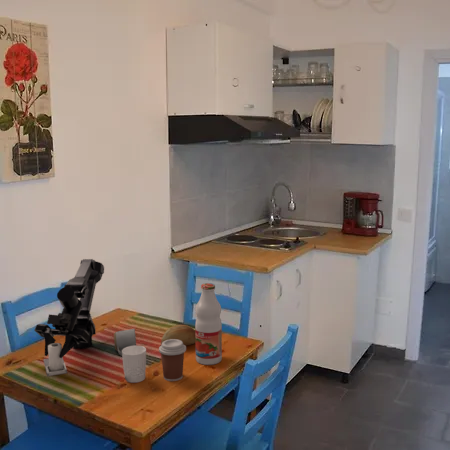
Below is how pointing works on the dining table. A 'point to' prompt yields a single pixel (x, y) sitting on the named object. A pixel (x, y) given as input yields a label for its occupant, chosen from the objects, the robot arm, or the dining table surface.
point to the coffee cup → (172, 359)
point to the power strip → (46, 363)
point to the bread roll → (180, 334)
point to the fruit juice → (208, 327)
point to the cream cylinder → (55, 357)
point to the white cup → (134, 363)
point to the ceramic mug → (124, 339)
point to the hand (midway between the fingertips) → (52, 356)
